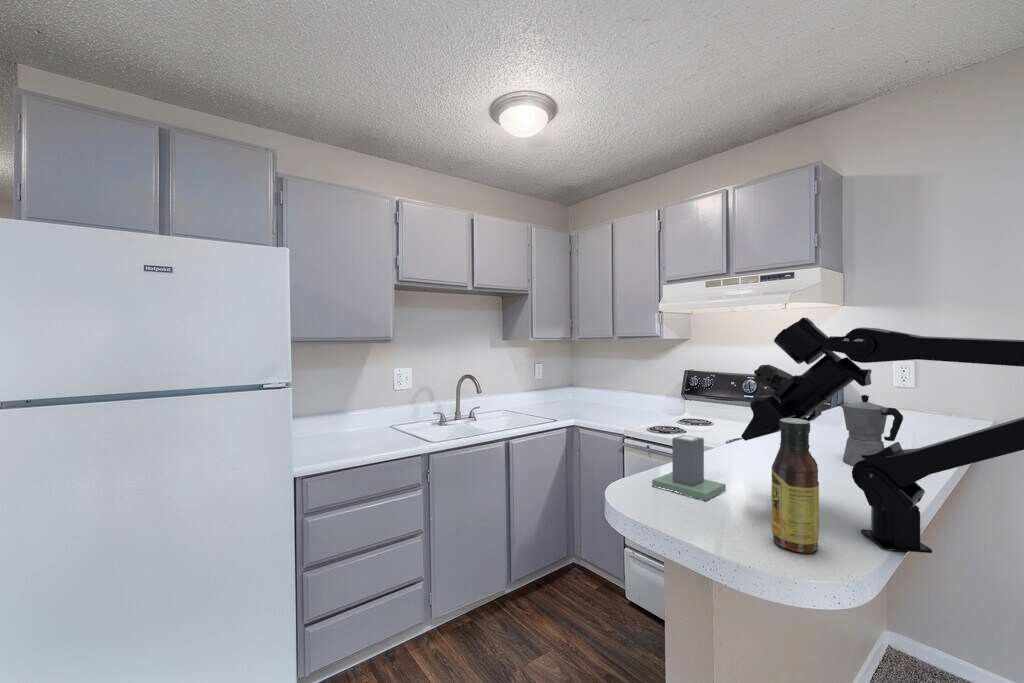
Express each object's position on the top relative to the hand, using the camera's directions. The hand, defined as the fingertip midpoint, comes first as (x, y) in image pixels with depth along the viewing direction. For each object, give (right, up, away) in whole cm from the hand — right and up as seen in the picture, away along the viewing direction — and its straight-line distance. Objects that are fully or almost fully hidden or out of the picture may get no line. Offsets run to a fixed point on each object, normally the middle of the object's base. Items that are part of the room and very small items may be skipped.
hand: (754, 435), depth 87 cm
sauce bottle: (-3, -14, -18) cm, 23 cm away
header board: (-9, -14, +9) cm, 19 cm away
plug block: (-9, -12, +9) cm, 18 cm away
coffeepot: (+44, -14, +26) cm, 53 cm away
